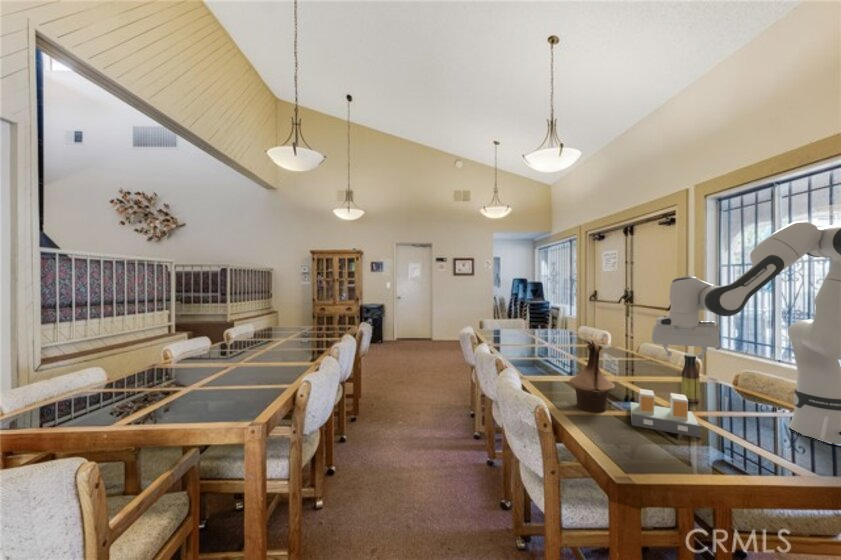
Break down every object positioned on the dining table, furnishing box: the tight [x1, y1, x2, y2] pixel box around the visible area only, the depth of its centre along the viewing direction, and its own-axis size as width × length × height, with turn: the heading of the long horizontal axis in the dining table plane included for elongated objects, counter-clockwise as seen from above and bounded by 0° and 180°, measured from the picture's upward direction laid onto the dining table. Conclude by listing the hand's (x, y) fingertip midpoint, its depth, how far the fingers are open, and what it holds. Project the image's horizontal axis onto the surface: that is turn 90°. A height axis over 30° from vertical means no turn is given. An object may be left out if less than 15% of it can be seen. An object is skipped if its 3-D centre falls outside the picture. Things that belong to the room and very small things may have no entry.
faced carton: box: [638, 388, 655, 414], centre depth 136 cm, size 4×7×7 cm, turn 151°
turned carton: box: [669, 392, 689, 420], centre depth 131 cm, size 4×7×7 cm, turn 151°
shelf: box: [629, 401, 702, 439], centre depth 132 cm, size 20×17×4 cm
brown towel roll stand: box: [568, 339, 616, 413], centre depth 146 cm, size 18×17×28 cm
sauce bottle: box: [681, 353, 701, 403], centre depth 154 cm, size 6×6×20 cm
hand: (684, 357), depth 132 cm, fingers open, 8 cm apart
